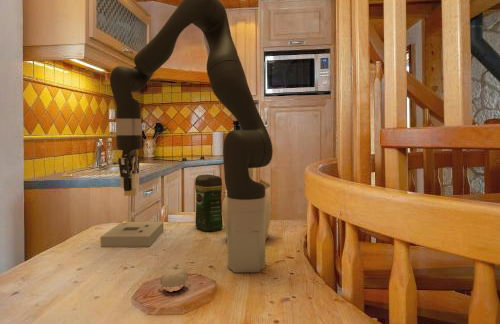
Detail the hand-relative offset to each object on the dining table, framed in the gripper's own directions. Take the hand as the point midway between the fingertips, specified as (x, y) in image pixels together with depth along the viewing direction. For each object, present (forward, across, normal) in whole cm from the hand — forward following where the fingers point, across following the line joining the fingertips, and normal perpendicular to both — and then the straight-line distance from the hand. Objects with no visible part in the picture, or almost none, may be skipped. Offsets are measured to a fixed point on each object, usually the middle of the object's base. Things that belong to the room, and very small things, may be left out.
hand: (130, 189), depth 120 cm
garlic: (+15, -40, -21) cm, 48 cm away
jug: (+15, -1, -36) cm, 39 cm away
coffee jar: (+16, +12, -23) cm, 30 cm away
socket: (+15, 0, -1) cm, 15 cm away
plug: (+2, 0, 0) cm, 2 cm away
